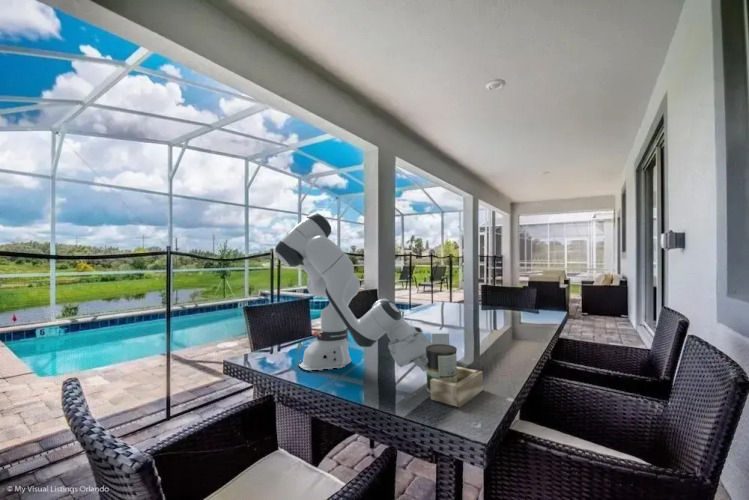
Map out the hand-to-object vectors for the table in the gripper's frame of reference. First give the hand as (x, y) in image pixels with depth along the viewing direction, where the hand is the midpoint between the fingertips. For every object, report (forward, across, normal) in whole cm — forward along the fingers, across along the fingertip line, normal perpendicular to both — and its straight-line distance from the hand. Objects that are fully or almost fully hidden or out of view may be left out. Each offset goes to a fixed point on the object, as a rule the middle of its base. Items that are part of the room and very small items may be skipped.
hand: (427, 369), depth 119 cm
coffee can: (+8, 0, 0) cm, 8 cm away
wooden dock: (+12, 0, -4) cm, 13 cm away
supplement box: (-3, +28, +12) cm, 31 cm away
